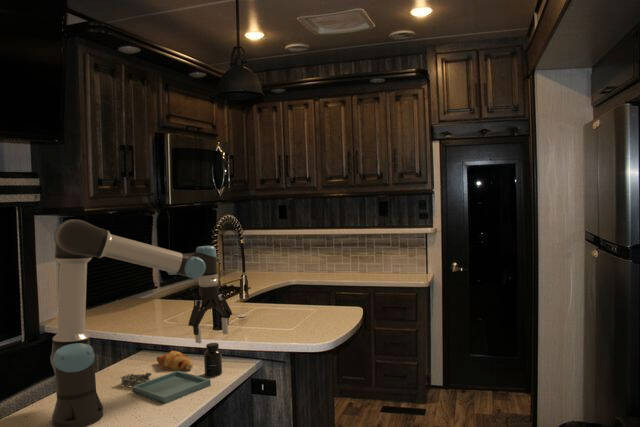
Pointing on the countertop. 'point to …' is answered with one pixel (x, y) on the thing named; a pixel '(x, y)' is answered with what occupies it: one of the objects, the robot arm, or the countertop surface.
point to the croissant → (174, 361)
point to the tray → (171, 386)
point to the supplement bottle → (213, 360)
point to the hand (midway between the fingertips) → (212, 338)
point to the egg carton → (135, 379)
